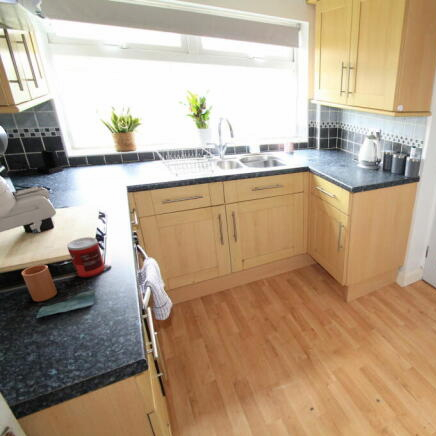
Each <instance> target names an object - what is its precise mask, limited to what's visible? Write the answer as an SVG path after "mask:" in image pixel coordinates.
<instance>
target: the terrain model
mask: <svg viewBox="0 0 436 436" xmlns="http://www.w3.org/2000/svg"><path fill="white" fill-rule="evenodd" d="M96 291H97V290H96V289H94V290H89V291H84V292H80V293H79V294H77V295H74V296H73V297H71V298H70V299H68V300H66V301H62V302H57V303H54V304H51V305H45V306H41V307H40V308H39V310H38V312H37V315H36V317H35V319H39V318H41V317H44V316H51V315H54V314H57V313H65V312H68V311H69V312H70V311H71V310H76V309H82V308H86V307H89V306H92V305H94V302H95V296H96Z"/></svg>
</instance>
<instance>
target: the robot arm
mask: <svg viewBox="0 0 436 436" xmlns="http://www.w3.org/2000/svg"><path fill="white" fill-rule="evenodd" d="M8 143H9V138H8V134H7V133H6V131H5V130H4V128H3V127H2V126H1V125H0V156H2V155H4V154H5V153H6V151H7V148H8ZM50 197H51V195H50V192H49V190H48V189H47V188H45V187H38V186H31V187H29V188H27V189H20V190H16V191H13V190H12V189H11V187H10V186H9V184H8V182H7V180H6V179H5V178H4V177H2V176H1V175H0V233H2V232H6V231H10V230H12V229H13V230H14V229H16V228H20V227H23V226H26V225H29V228H30V229H31V231H32V233H33V234H34V235H35V234H38V233H41V231H42V230H41V229H40V228H41V225H42V223H43V222H42V221H43V220H46V219H51V218H52V217H55V215H56V214H57V210H56V209H55V207H54V205H53V203H52V202H51V200H50Z"/></svg>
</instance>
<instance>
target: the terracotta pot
mask: <svg viewBox="0 0 436 436" xmlns="http://www.w3.org/2000/svg"><path fill="white" fill-rule="evenodd" d="M20 273H21V276H22V279H23V282H24V284H25V286H26V288H27V290H28V293H29V295H30V297H31V299H32V301H34V302H44V301H47V300H50V299H51V298H54V297H55V296H56V295H57V293H58V290H57V287H56V285H55V282H54V280H53V277H52V275H51V272H50V269H49V267H48V265H47V264H36V265H32V266H29V267H27V268H24V269H23V270H22V271H21V272H20Z"/></svg>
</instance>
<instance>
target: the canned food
mask: <svg viewBox="0 0 436 436" xmlns="http://www.w3.org/2000/svg"><path fill="white" fill-rule="evenodd" d="M66 247H67V250H68V254H69V256H70V259H71V262H72V264H73V268H74V271H75V273H76V275H77V276H78V277H80V278H91V277H95V276H97V275H100V274H102V273H103V272H104V270H105V267H106V266H105V263H104V258H103V255H102V251H101V249H100V245H99V243H98V240H97V238H95V237H91V236H90V237H89V236H88V237H81V238H76V239H74V240H71V241H70V242H69V243H67V245H66Z"/></svg>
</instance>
